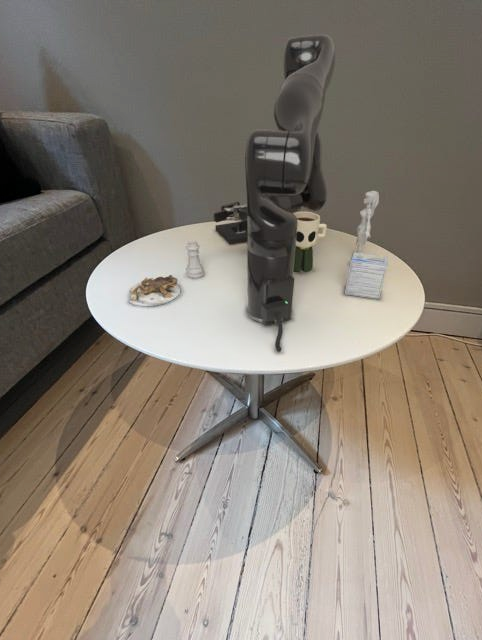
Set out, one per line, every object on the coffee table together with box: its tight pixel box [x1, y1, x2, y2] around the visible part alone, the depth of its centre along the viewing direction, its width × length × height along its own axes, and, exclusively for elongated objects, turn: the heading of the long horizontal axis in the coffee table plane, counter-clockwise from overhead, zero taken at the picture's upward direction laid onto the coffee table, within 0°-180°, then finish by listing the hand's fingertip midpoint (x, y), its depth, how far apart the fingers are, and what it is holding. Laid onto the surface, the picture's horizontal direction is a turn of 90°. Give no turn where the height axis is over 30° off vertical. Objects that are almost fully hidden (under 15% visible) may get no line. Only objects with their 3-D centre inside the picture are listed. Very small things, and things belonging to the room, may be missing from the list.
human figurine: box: [349, 190, 380, 264], centre depth 96 cm, size 12×4×18 cm, turn 173°
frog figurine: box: [128, 274, 182, 307], centre depth 87 cm, size 12×12×4 cm
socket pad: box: [215, 221, 247, 245], centre depth 115 cm, size 12×12×2 cm
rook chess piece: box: [185, 240, 205, 279], centre depth 93 cm, size 4×4×8 cm
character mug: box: [293, 211, 328, 273], centre depth 95 cm, size 11×7×13 cm, turn 94°
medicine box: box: [344, 251, 389, 300], centre depth 87 cm, size 8×4×9 cm, turn 74°
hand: (226, 222), depth 95 cm, fingers open, 8 cm apart
